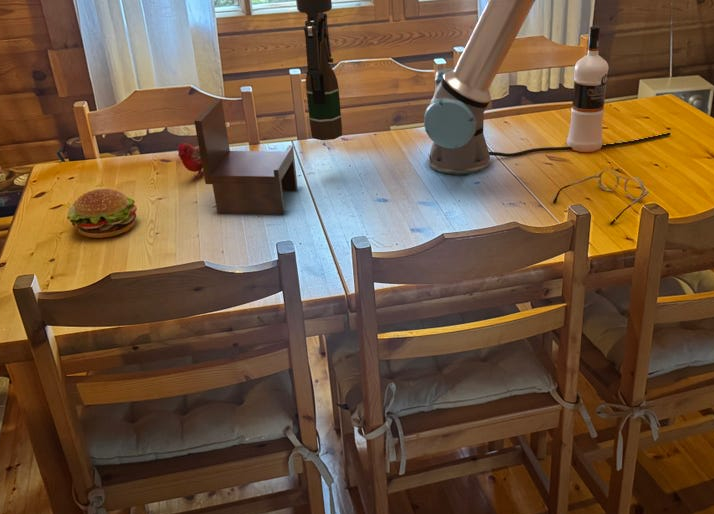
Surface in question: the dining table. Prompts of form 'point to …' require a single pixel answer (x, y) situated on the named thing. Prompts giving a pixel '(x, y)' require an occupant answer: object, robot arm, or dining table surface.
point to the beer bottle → (325, 115)
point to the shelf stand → (242, 169)
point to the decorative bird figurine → (190, 158)
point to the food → (103, 213)
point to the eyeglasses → (611, 190)
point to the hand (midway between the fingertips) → (323, 98)
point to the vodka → (588, 98)
